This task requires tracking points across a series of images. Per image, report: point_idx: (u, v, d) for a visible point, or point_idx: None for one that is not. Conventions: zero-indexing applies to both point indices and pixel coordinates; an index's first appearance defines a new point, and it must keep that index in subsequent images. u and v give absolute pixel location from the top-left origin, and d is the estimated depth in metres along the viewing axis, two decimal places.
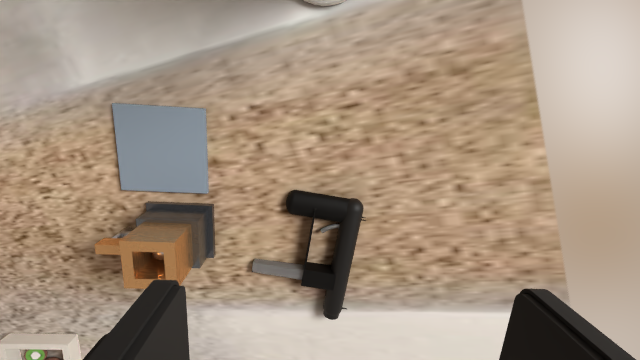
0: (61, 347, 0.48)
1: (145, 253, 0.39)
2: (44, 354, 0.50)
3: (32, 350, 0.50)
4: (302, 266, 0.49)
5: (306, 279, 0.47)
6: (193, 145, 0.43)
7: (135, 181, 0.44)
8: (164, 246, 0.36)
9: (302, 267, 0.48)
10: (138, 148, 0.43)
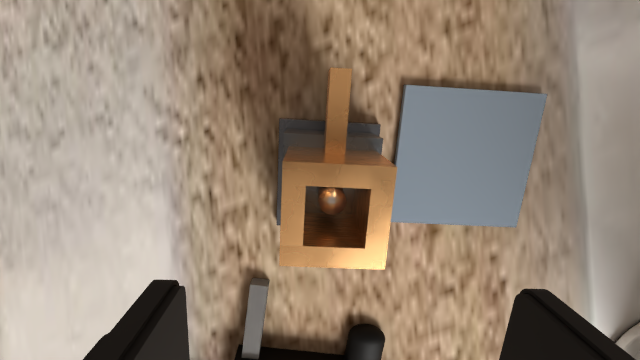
0: None
1: None
2: None
3: None
4: (260, 348, 0.31)
5: None
6: (466, 207, 0.28)
7: (418, 111, 0.26)
8: (377, 251, 0.18)
9: (259, 351, 0.31)
10: (472, 125, 0.26)
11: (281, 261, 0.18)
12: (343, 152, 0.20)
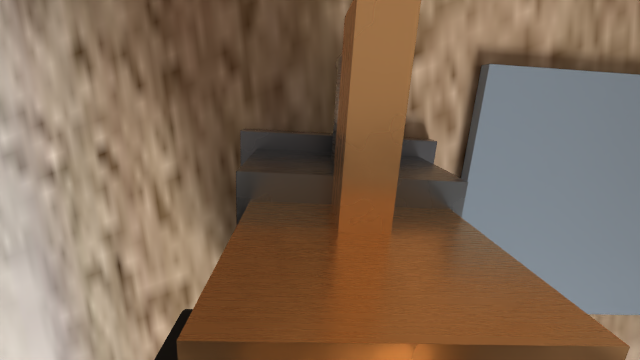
0: None
1: None
2: None
3: None
4: None
5: None
6: (578, 285, 0.16)
7: (509, 116, 0.13)
8: None
9: None
10: (606, 141, 0.14)
11: None
12: (386, 231, 0.07)
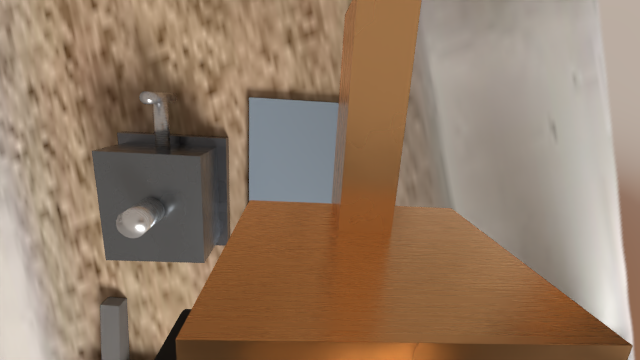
0: None
1: None
2: None
3: None
4: None
5: None
6: None
7: (266, 124, 0.25)
8: None
9: None
10: (324, 138, 0.25)
11: None
12: (387, 229, 0.07)
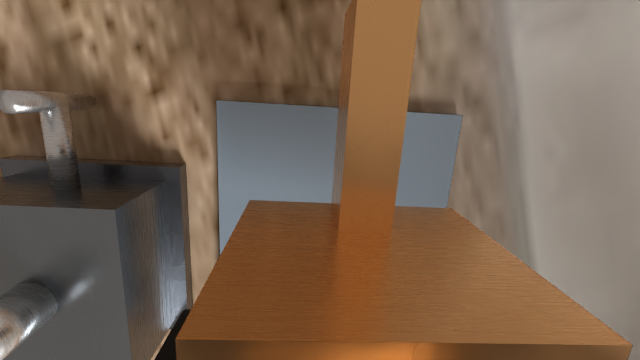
0: None
1: None
2: None
3: None
4: None
5: None
6: None
7: (245, 145, 0.15)
8: None
9: None
10: None
11: None
12: (387, 229, 0.07)
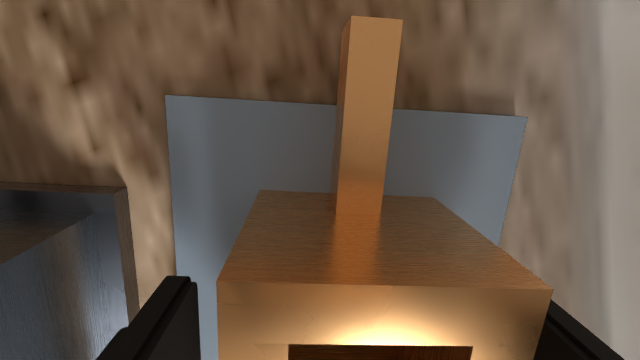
0: None
1: None
2: None
3: None
4: None
5: None
6: None
7: (210, 161, 0.10)
8: None
9: None
10: None
11: None
12: (376, 212, 0.09)
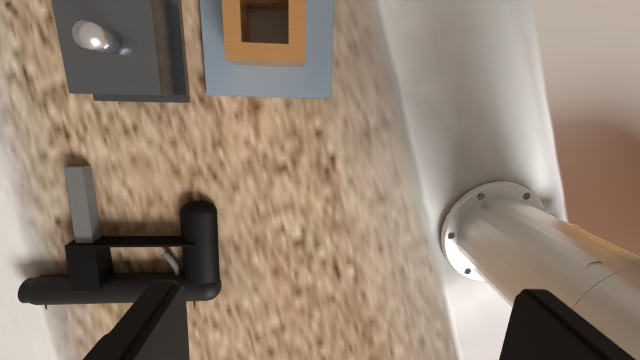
0: None
1: (266, 1, 0.26)
2: None
3: None
4: (98, 236, 0.33)
5: (78, 251, 0.31)
6: (278, 78, 0.30)
7: None
8: (298, 46, 0.24)
9: (97, 237, 0.32)
10: None
11: (226, 55, 0.24)
12: None
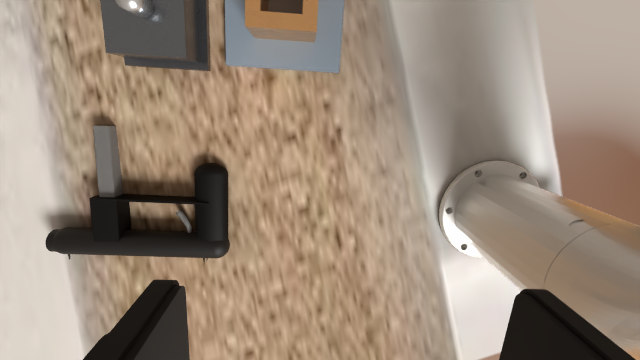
0: None
1: None
2: None
3: None
4: (120, 192, 0.35)
5: (101, 204, 0.34)
6: (292, 52, 0.32)
7: None
8: (311, 16, 0.27)
9: (118, 193, 0.35)
10: None
11: (246, 22, 0.27)
12: None
